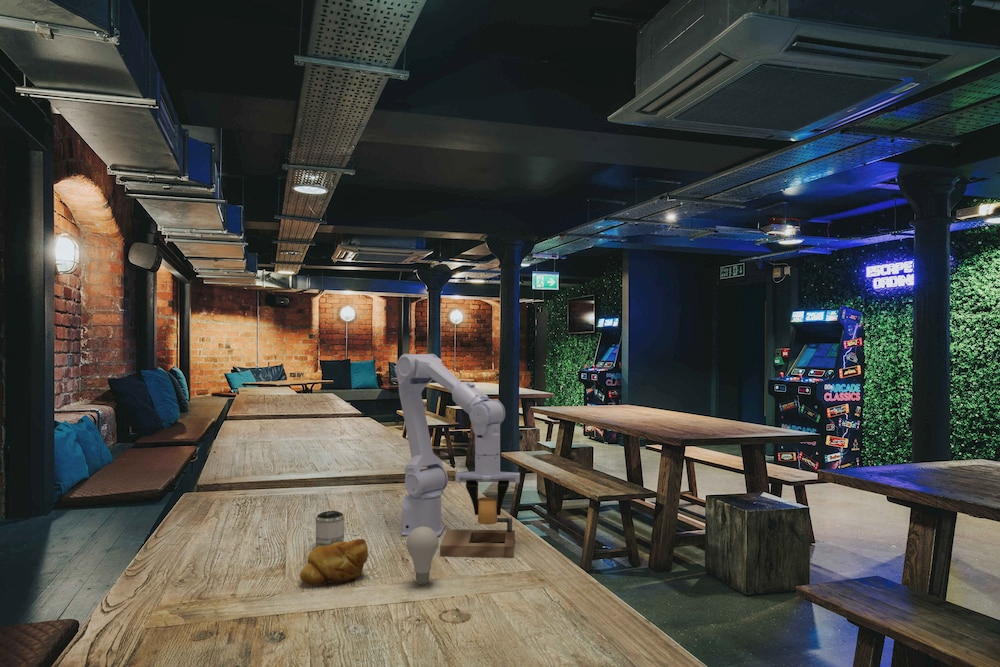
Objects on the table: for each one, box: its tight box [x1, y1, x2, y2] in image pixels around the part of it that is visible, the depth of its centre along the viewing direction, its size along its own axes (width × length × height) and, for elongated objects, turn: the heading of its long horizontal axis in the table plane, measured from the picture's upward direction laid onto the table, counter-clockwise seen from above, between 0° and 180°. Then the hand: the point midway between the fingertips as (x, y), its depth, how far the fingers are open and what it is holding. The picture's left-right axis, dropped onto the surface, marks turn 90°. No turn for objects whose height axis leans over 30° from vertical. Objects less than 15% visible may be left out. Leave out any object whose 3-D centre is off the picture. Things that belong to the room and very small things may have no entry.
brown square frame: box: [439, 528, 516, 559], centre depth 140 cm, size 16×12×2 cm
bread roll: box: [299, 538, 369, 586], centre depth 122 cm, size 13×10×8 cm
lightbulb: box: [406, 526, 439, 586], centre depth 119 cm, size 6×6×11 cm
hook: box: [497, 516, 513, 532], centre depth 145 cm, size 8×1×6 cm, turn 87°
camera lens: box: [315, 510, 345, 547], centre depth 141 cm, size 6×6×8 cm
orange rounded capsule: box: [477, 496, 498, 526], centre depth 140 cm, size 4×4×5 cm
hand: (487, 514), depth 140 cm, fingers closed on orange rounded capsule, 4 cm apart
